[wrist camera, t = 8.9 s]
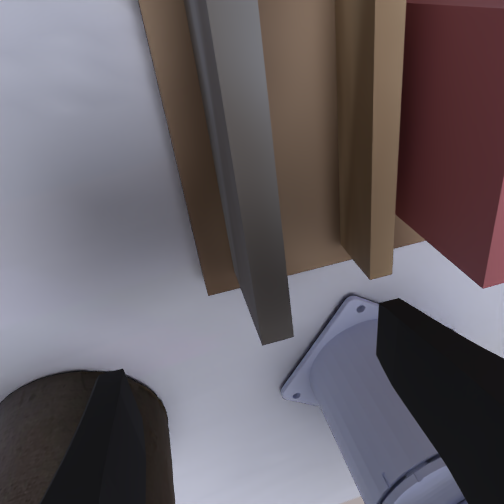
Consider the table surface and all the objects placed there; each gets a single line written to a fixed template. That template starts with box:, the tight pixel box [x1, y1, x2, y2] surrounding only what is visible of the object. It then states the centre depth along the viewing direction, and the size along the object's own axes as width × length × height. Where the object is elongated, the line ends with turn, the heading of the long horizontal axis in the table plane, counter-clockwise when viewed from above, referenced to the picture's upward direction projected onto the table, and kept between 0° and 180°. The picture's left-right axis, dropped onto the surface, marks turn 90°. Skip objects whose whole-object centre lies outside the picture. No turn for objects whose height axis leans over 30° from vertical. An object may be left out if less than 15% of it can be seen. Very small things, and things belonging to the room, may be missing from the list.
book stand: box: [138, 0, 426, 345], centre depth 16 cm, size 18×14×6 cm
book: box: [395, 0, 504, 288], centre depth 15 cm, size 3×8×7 cm, turn 7°
